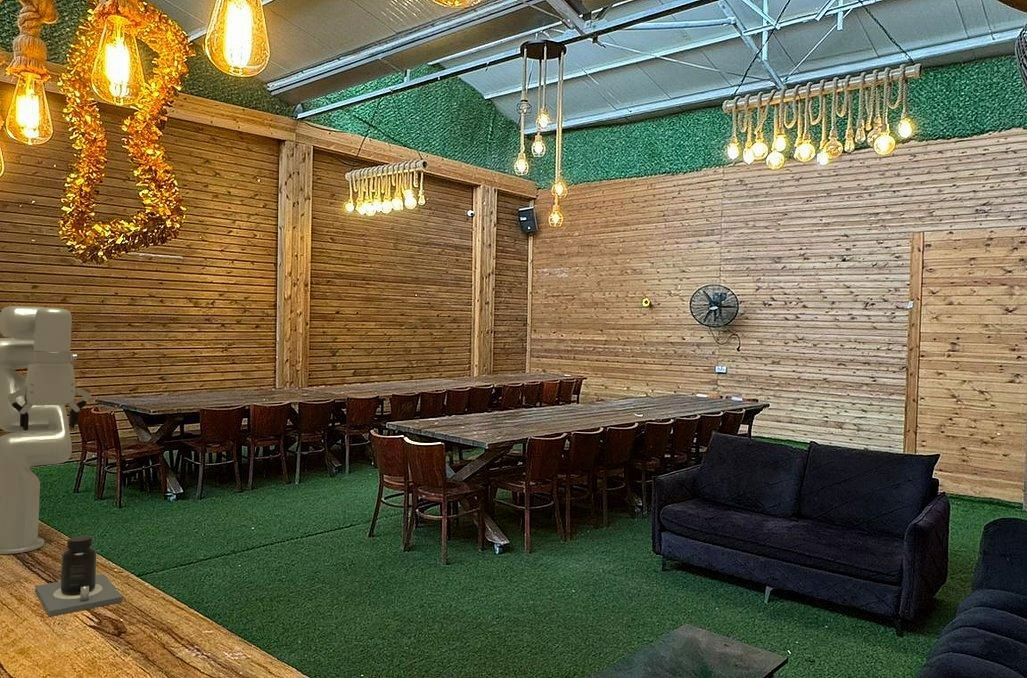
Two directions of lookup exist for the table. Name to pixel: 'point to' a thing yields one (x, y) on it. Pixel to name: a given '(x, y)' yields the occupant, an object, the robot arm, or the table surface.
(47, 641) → the table surface
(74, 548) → the supplement bottle
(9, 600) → the table surface
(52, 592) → the board
